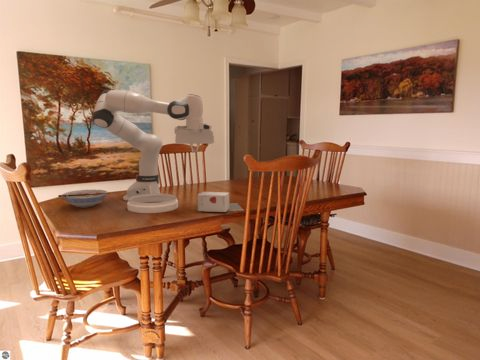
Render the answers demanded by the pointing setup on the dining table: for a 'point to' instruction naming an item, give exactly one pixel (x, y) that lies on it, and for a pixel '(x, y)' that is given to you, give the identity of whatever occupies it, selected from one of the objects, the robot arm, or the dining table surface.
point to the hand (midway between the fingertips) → (194, 152)
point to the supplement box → (213, 201)
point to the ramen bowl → (84, 197)
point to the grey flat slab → (233, 207)
